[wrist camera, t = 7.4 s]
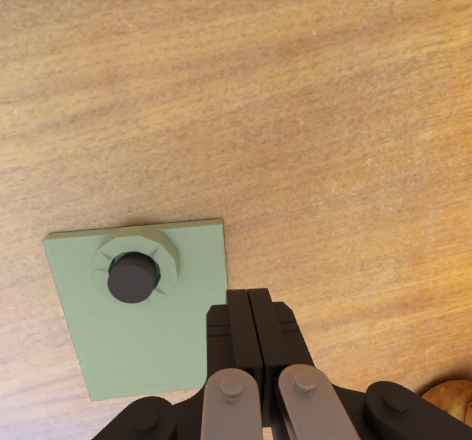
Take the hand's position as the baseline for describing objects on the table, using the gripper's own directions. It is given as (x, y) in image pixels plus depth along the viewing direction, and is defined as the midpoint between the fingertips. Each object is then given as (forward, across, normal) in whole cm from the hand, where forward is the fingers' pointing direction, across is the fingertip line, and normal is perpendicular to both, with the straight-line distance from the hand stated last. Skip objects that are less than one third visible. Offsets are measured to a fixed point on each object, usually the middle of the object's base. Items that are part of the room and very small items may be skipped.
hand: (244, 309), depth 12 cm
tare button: (+11, +6, +5) cm, 14 cm away
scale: (+14, +6, +10) cm, 18 cm away
